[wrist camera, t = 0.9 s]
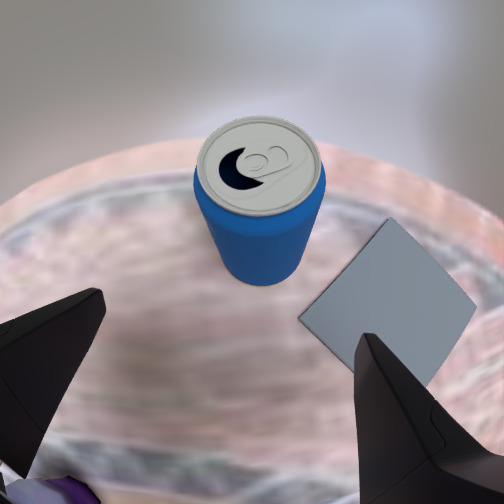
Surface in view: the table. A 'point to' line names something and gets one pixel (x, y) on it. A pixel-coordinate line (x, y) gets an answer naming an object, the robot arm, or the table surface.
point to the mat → (393, 304)
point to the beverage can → (260, 195)
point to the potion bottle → (51, 491)
